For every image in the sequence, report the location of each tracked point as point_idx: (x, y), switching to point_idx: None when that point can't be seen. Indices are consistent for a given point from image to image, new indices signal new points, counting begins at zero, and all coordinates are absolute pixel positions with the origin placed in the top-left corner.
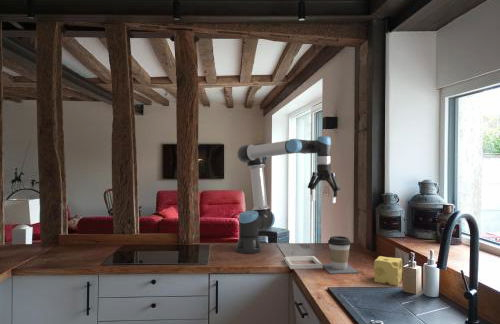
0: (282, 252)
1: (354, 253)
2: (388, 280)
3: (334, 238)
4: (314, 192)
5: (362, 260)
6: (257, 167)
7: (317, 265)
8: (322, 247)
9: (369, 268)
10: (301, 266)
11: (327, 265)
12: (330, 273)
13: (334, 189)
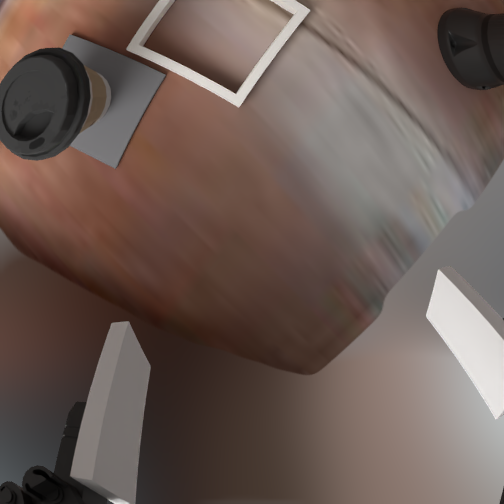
0: (396, 102)
1: (215, 302)
2: None
3: (39, 80)
4: (485, 374)
5: (130, 254)
6: None
7: (138, 32)
8: (344, 276)
9: (52, 197)
10: None
11: (132, 80)
12: (69, 36)
13: (28, 493)
